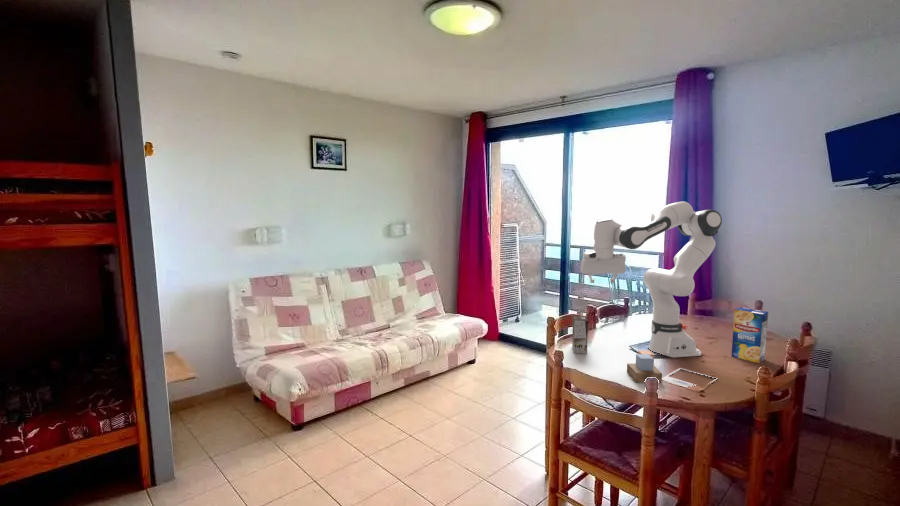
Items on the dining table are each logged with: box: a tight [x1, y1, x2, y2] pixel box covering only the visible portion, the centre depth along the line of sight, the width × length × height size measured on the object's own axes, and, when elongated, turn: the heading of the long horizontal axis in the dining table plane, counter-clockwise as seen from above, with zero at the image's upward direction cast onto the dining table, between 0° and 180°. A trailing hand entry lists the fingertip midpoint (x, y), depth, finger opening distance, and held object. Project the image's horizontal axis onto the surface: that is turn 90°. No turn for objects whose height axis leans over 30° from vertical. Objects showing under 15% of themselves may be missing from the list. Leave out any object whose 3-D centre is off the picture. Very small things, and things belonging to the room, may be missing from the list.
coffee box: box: [571, 315, 589, 355], centre depth 206 cm, size 9×6×16 cm
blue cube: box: [635, 353, 655, 371], centre depth 174 cm, size 5×5×5 cm
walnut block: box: [626, 362, 663, 384], centre depth 174 cm, size 10×10×4 cm
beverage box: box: [731, 306, 769, 364], centre depth 193 cm, size 7×11×22 cm, turn 37°
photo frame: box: [662, 367, 719, 388], centre depth 172 cm, size 15×1×18 cm
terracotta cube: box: [637, 349, 655, 366], centre depth 190 cm, size 5×5×5 cm
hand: (602, 282), depth 203 cm, fingers open, 8 cm apart
